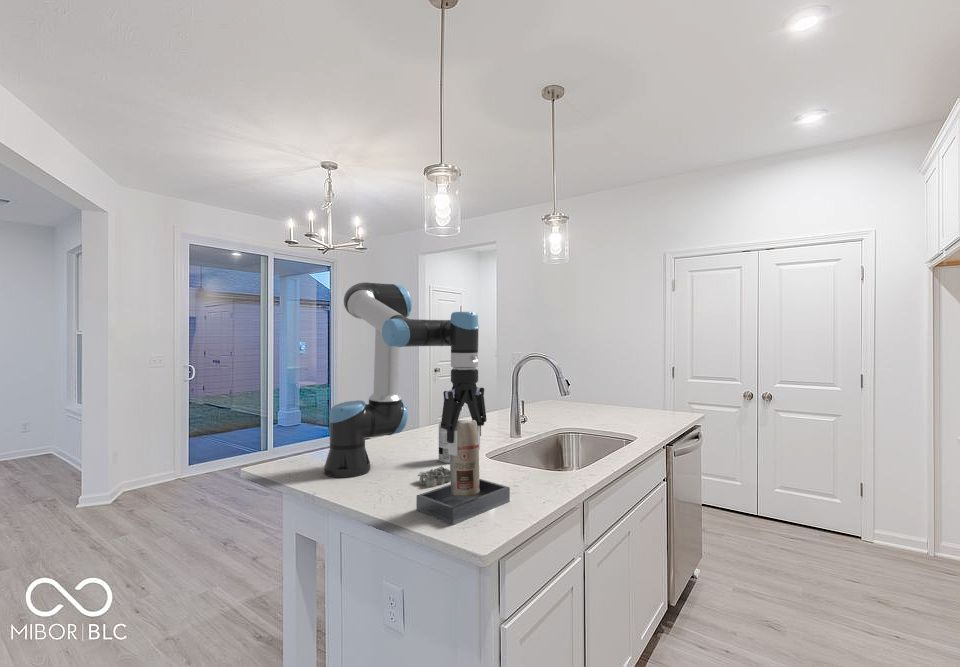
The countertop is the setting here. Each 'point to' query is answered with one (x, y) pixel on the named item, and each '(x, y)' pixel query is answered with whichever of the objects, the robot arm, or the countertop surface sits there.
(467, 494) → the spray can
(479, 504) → the grey soap tray
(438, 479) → the potted succulents
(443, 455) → the supplement can
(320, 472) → the countertop surface
